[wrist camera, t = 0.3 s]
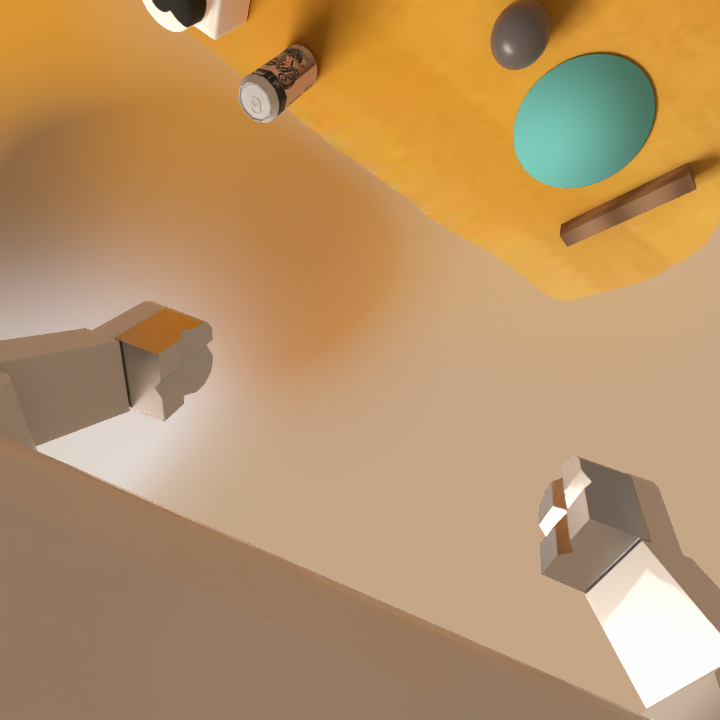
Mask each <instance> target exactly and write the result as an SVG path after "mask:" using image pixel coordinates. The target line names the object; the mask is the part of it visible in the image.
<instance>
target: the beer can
mask: <svg viewBox="0 0 720 720" xmlns="http://www.w3.org/2000/svg"><path fill="white" fill-rule="evenodd" d="M317 73H318V70H317V64H316V61H315V58H314V57H313V55H312V53H311V52H310V51H309V50H308V49H307V48H305V47H304V46H302V45H298V44H293V45H291V46H289V47H288V48H287V49H286V50H285V51H283V52H282V53H280V54H279V55H277V56H276V57H275V58H273V59H272V60H270V61H269V62H267V63H266V64H264V65H263V66H262V67H260V68H259V69H257V70H256V71H254V72H253V73H251V74H249V75H247V76H246V77H244V78H243V80H242V82H241V84H240V88H239V101H240V104H241V106H242V109H243V111H244V112H245V113H246V114H247V115H248V116H249V117H250V118H251V119H252V120H256V121H260V122H271V121H272V120H273V119H275V118H276V117H277V116H278V115H279V114H280V113H281V112H282V111H283V110H285V109H286V108H287V107H288V106H289V105H290V104H291V103H293V102H294V101H295V100H296V99H297V98H298V97H299V96H301V95H302V94H303V93H304V92H305V91H306V90H307V89H309V88H310V87H311V86H313V84H314V83H315V81H316V79H317Z"/></svg>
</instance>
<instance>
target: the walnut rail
mask: <svg viewBox="0 0 720 720" xmlns="http://www.w3.org/2000/svg"><path fill="white" fill-rule="evenodd" d="M693 190H696V184H695V180H694V177H693V175H692V172H691V170H690V168H689V166H688V164H685V165H683V166H681V167H679V168H677V169H675V170H673V171H671V172H669V173H666V174H664V175H662V176H660V177H658V178H656V179H654V180H652V181H650V182H648V183H646V184H644V185H642V186H640V187H638V188H636V189H634V190H632V191H630V192H627V193H625V194H623V195H621V196H619V197H617V198H615V199H613V200H611V201H609V202H607V203H605V204H603V205H601V206H599V207H597V208H595V209H593V210H591V211H589V212H586V213H584V214H582V215H580V216H578V217H576V218H574V219H572V220H570V221H568V222H566V223H564V224H562V225H561V230H560V237H561V238H562V240H563V241H564V243H565V244H566V246H567V247H568V246H570V245H572V244H575V243H577V242H579V241H581V240H584V239H586V238H588V237H590V236H592V235H595V234H597V233H599V232H601V231H604V230H606V229H608V228H610V227H613V226H615V225H617V224H619V223H622V222H624V221H626V220H628V219H631V218H633V217H635V216H637V215H640V214H642V213H644V212H646V211H648V210H651V209H653V208H655V207H657V206H660V205H662V204H664V203H666V202H669V201H671V200H673V199H675V198H678V197H680V196H682V195H684V194H687V193H689V192H691V191H693Z"/></svg>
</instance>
